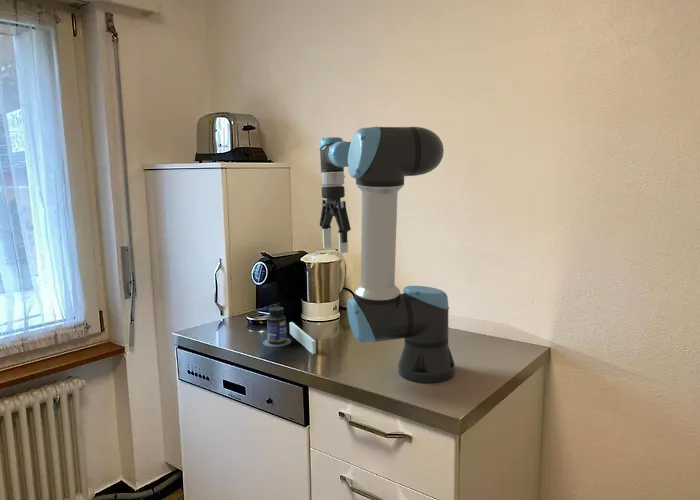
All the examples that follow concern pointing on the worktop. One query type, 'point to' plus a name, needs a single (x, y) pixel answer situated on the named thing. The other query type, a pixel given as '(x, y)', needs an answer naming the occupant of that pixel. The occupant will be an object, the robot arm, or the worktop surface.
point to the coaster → (276, 344)
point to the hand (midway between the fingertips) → (335, 250)
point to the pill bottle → (276, 326)
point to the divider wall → (303, 338)
